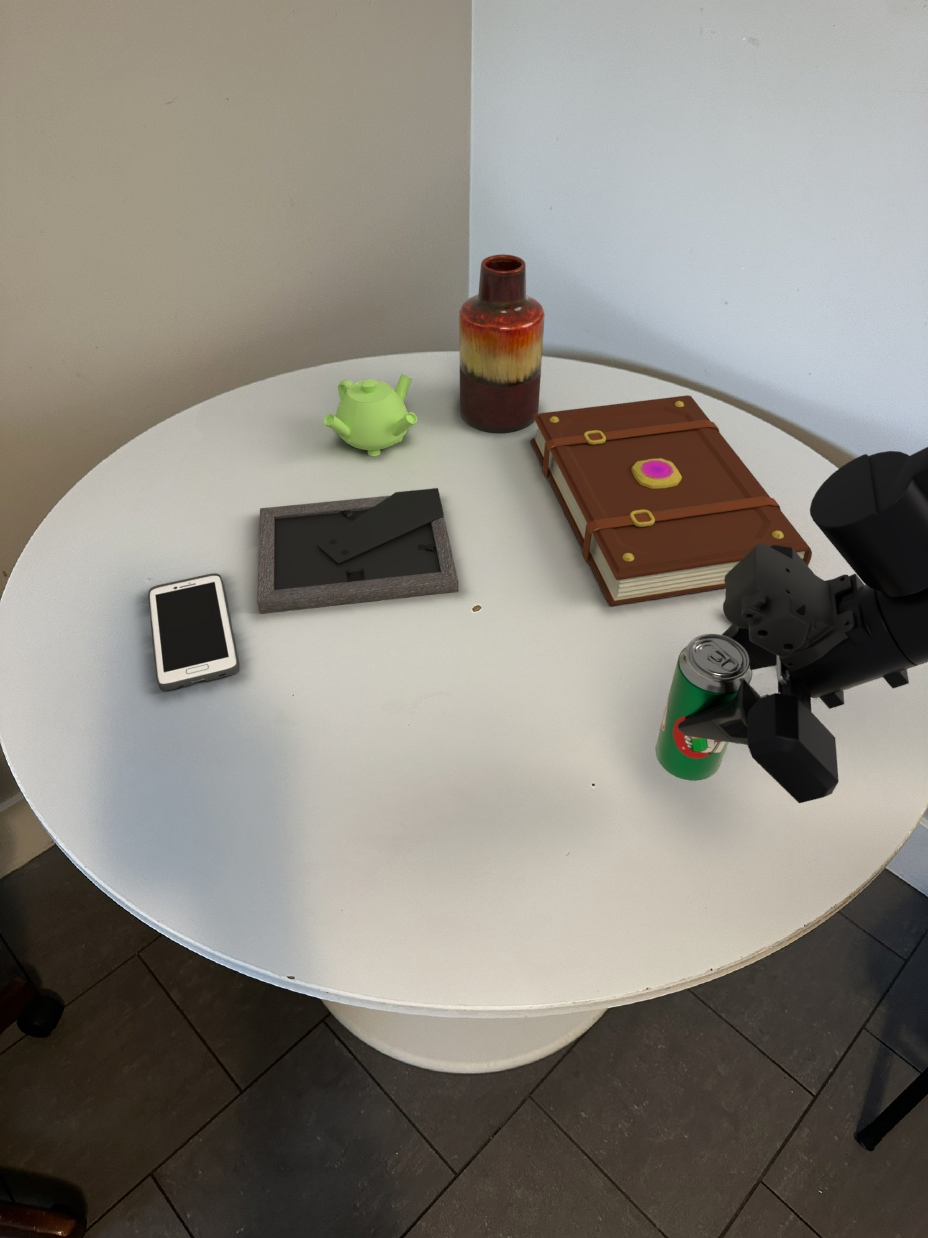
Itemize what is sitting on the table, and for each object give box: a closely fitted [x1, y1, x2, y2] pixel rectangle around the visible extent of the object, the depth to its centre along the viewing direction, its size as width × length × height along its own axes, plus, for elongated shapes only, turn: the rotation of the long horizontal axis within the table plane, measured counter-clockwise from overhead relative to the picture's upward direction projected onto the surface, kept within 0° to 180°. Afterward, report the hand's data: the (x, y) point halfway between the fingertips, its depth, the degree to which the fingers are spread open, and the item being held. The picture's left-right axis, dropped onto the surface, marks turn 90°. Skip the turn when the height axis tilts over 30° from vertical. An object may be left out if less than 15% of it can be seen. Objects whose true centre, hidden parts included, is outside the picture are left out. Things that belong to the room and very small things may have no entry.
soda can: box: [654, 633, 753, 782], centre depth 60 cm, size 5×5×12 cm
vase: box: [458, 253, 546, 434], centre depth 105 cm, size 11×11×20 cm
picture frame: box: [256, 487, 459, 615], centre depth 91 cm, size 16×2×21 cm
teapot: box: [323, 373, 418, 457], centre depth 105 cm, size 11×12×8 cm
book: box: [529, 394, 813, 607], centre depth 96 cm, size 23×32×5 cm
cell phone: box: [147, 572, 240, 691], centre depth 83 cm, size 8×15×1 cm, turn 19°
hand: (683, 701), depth 60 cm, fingers closed on soda can, 5 cm apart
